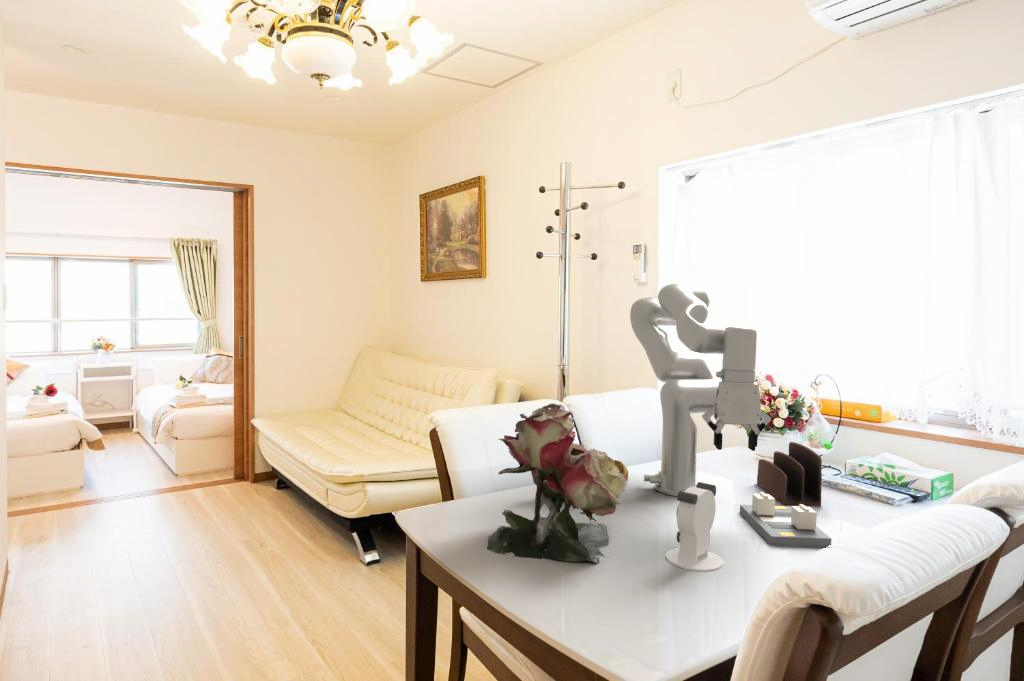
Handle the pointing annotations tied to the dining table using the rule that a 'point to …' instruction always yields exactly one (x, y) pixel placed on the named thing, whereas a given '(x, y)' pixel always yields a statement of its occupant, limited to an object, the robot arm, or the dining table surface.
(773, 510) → the switch tab
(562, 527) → the rose bouquet
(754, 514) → the switch panel
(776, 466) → the letter holder
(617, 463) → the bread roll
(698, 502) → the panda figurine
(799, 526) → the switch tab
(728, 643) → the dining table surface
